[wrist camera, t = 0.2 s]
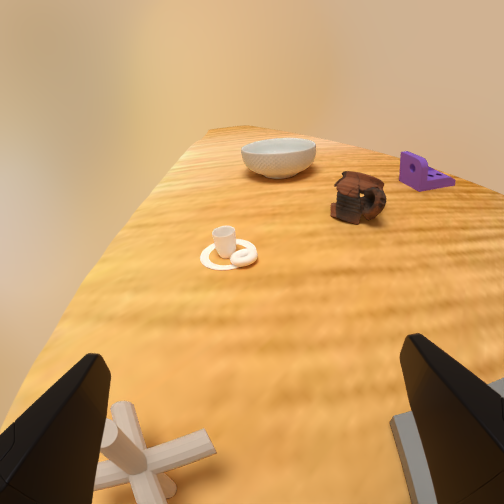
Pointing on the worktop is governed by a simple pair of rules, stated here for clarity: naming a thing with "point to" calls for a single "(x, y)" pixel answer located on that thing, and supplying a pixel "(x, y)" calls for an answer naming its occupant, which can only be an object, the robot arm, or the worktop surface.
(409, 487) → the gear board
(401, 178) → the bracket
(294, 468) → the worktop surface
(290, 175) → the cereal bowl
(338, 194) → the pottery mug
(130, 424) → the pipe connector
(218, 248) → the teacup and saucer
